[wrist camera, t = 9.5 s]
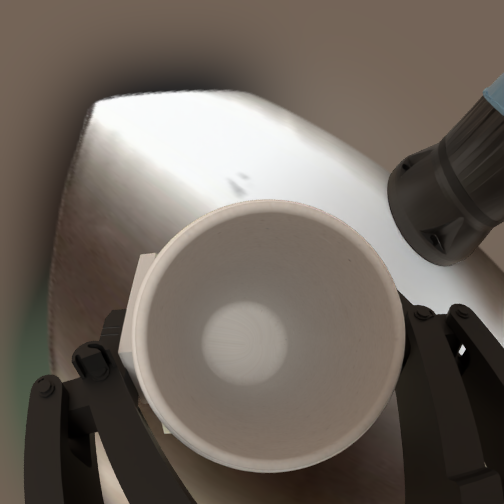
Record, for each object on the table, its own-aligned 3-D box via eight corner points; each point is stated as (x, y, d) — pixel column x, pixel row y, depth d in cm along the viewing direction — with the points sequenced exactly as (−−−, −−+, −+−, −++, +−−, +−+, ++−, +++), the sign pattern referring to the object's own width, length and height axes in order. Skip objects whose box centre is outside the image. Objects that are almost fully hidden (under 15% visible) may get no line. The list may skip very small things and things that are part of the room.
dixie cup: (304, 411, 16) (396, 459, 6) (168, 401, 15) (118, 457, 6) (313, 284, 19) (401, 219, 9) (184, 268, 18) (159, 180, 9)
